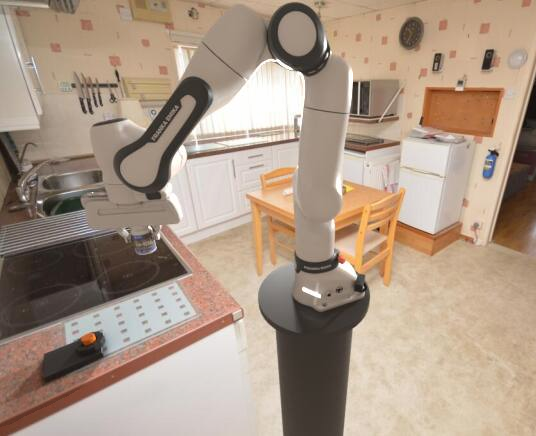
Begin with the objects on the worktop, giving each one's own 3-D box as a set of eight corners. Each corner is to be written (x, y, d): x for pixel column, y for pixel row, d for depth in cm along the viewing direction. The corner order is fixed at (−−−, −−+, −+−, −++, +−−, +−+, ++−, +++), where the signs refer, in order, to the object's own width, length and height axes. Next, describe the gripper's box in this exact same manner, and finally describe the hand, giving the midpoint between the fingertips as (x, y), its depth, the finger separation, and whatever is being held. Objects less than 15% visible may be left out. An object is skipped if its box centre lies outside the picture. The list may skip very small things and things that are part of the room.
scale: (105, 333, 72) (101, 325, 70) (109, 354, 67) (105, 345, 65) (46, 358, 65) (41, 348, 64) (45, 382, 60) (39, 373, 59)
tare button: (95, 335, 68) (93, 330, 67) (96, 342, 66) (94, 337, 66) (82, 340, 67) (80, 336, 66) (83, 347, 65) (81, 342, 64)
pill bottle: (137, 257, 73) (128, 228, 70) (135, 249, 77) (126, 220, 73) (158, 251, 76) (150, 223, 72) (155, 244, 79) (148, 216, 76)
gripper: (71, 198, 64) (91, 251, 70) (172, 192, 69) (183, 242, 75) (84, 188, 69) (102, 238, 75) (178, 183, 74) (187, 231, 80)
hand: (143, 240), depth 75 cm, fingers closed on pill bottle, 5 cm apart
